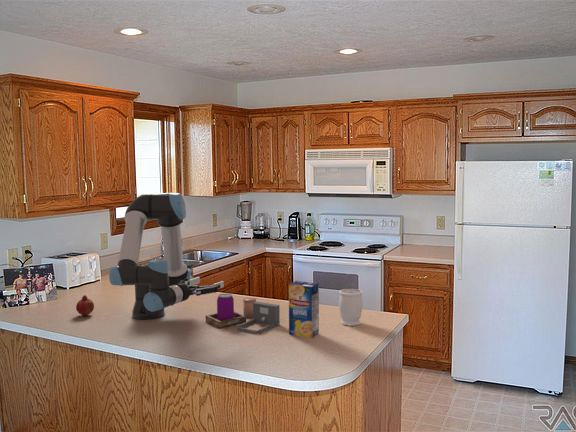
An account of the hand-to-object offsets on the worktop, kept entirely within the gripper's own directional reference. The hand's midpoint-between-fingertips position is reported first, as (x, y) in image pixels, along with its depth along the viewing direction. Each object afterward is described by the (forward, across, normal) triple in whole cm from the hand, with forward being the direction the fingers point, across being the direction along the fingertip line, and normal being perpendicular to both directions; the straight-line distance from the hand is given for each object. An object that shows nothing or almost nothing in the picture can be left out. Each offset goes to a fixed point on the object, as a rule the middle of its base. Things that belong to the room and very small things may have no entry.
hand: (210, 281), depth 237 cm
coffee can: (+51, -64, -24) cm, 85 cm away
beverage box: (+14, +40, -21) cm, 47 cm away
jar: (+37, +50, -21) cm, 66 cm away
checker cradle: (+11, +17, -21) cm, 29 cm away
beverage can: (+10, 0, -21) cm, 23 cm away
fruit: (-16, -66, -22) cm, 72 cm away
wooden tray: (+10, 0, -21) cm, 24 cm away
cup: (+23, +4, -22) cm, 32 cm away
